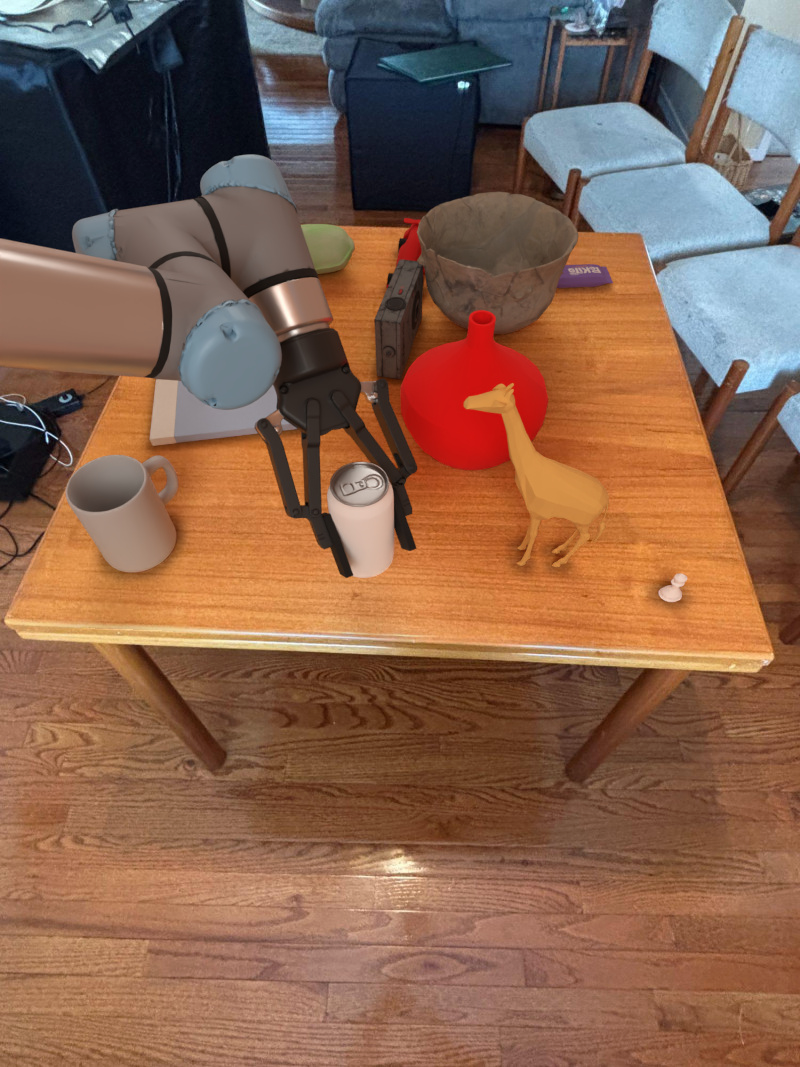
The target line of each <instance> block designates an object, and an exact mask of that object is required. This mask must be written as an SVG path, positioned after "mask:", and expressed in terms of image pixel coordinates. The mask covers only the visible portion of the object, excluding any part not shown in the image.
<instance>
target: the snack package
mask: <svg viewBox="0 0 800 1067" xmlns="http://www.w3.org/2000/svg"><path fill="white" fill-rule="evenodd" d="M608 284H614V281H613V279H612V277H611V274H610V272H609V270H608V267H607V266H601V265H599V264H593V263H587V264H585V263H584V264H566V265H565V267H564V269H563V272H562V274H561V276H560V279H559V281H558V285H557V289H567V288H568V289H569V288H594V287H601V286H603V285H608Z"/></svg>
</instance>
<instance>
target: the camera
mask: <svg viewBox="0 0 800 1067" xmlns="http://www.w3.org/2000/svg"><path fill="white" fill-rule="evenodd" d="M392 273H393V276H392V278H391V280H390V283H389V285H388V288H386V289H385V292H384V295H383V298H382V300H381V303H380V305H379V307H378V310H377V312H376V314H375V317H374V319H373V320H374V343H375V364H376V365H375V366H376V367H375V368H376V377H381V378H387V379H395V380H402V378H403V374H404V372H405V369H406V366H407V363H408V360H409V357H410V354H411V352H412V348H413V345H414V342H415V339H416V336H417V334H418V331H419V327H420V324H421V322H422V319H423V297H424V296H423V294H424V284H423V277H424V273H423V266H422V265H421V264H419V263H418V261H411V260H403V259H402V260H399V262H398V264H397V266H396V265H395V269H394V271H393V272H392Z"/></svg>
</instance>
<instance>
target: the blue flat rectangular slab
mask: <svg viewBox="0 0 800 1067" xmlns="http://www.w3.org/2000/svg"><path fill="white" fill-rule="evenodd" d="M276 406H277V394H276V391H275V389H274V386H273V385H272V386H271V388H270V389H269V390H268V391H267V392H266V393H265V394H264V395H263V396H262V397H261V398H259V399H258V400H257V401H255V402H253V403H252V404H249V405H247V406H244V407H241V408H238V409H232V410H221V409H215V408H212V407H211V406H208V405H206V404H204V403H202V402H201V401H200V400H199V399H197V398H196V397H195V396H194V395H193V394H191V393H190V392H189V391H188V390H187V388H186V387H184V386H183V384H182V381H177V380H162V379H155V386H154V394H153V402H152V413H151V422H150V431H149V441H150V443H151V446H153V447H155V446H165V445H171V444H179V443H187V442H196V441H205V440H214V439H223V438H232V437H241V436H249V435H257V434H258V433H257V431H256V430H255V423H256V422H257V421H258V420H260V419H262V418H265V417H267V416H268V415H270V414H271V413H273V412H274V411H276V410H277V408H276ZM281 426H282V428H283V431H284V432H285V431H295V430H298V429H297V428H296V427H294V426H293V425H291V424H290V423H289V422H287V421H286V420H284V419H282V421H281ZM283 431H282V432H283ZM258 435H259V434H258Z"/></svg>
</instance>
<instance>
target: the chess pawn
mask: <svg viewBox="0 0 800 1067" xmlns="http://www.w3.org/2000/svg"><path fill="white" fill-rule="evenodd" d="M687 581H688V576H687V575H686V574H684V573H679V572H678V573H675V575H673V578H672V579H671V580H670V583H671V584H669V585H665V586H663V587H661V588H660V589H659V590H658V597H660V599H661V600H663V601H664V602H666V603H667V602H668V603H675V602H679V601H680V600H681V599H682V598H683V592H682V590H681V587H683V586H685V584H686V582H687Z"/></svg>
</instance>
